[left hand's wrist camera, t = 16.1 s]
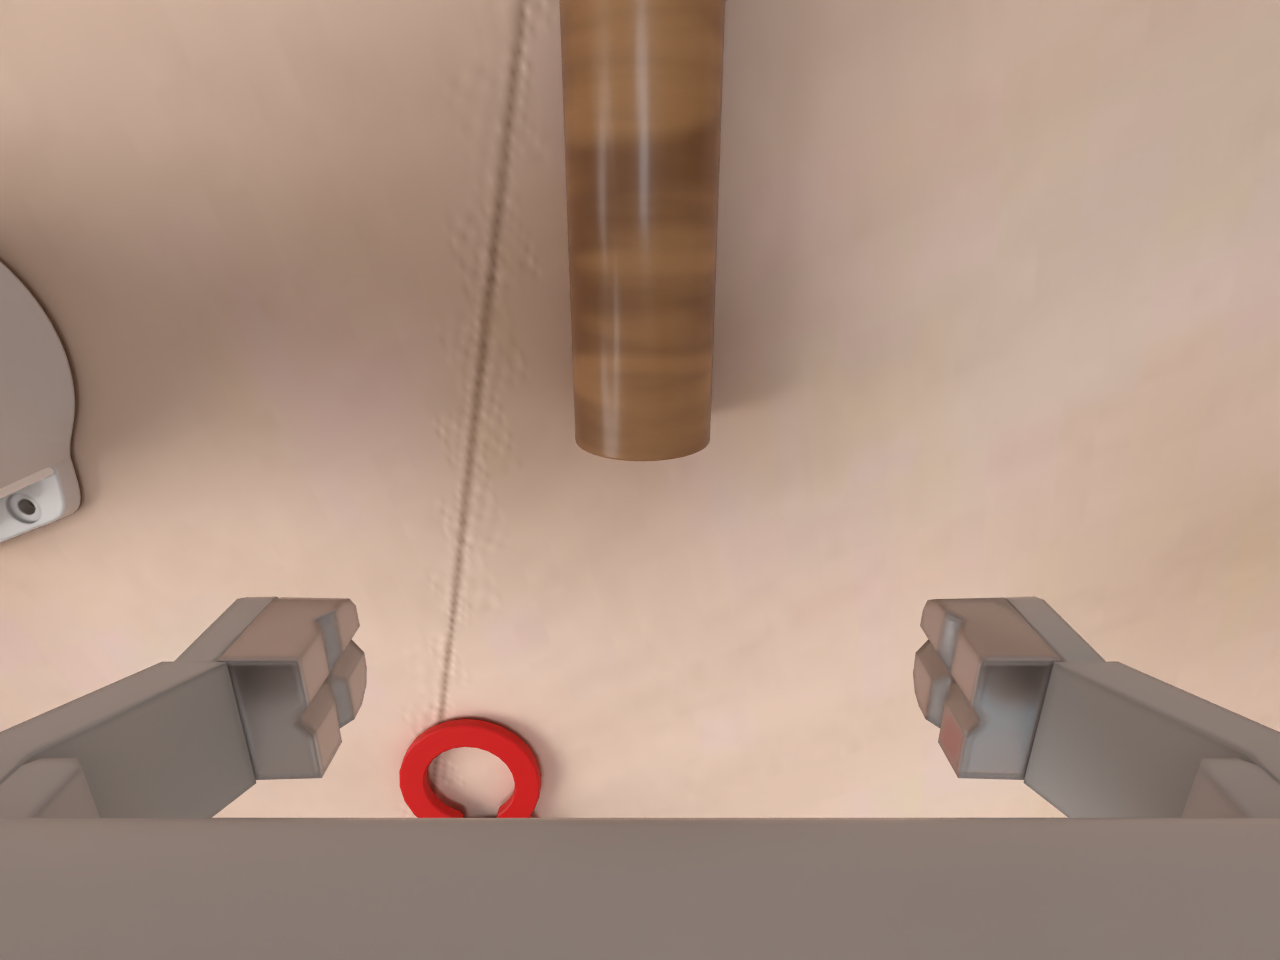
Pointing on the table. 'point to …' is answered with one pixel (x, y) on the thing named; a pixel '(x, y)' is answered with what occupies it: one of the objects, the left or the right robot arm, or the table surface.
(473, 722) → the tow hook
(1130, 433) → the table surface
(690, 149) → the rod
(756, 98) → the table surface
